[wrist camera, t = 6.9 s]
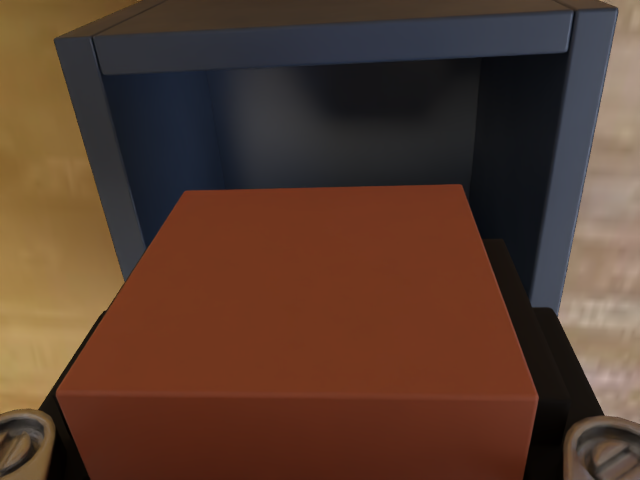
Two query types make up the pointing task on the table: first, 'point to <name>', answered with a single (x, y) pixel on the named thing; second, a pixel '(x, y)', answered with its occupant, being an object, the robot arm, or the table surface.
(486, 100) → the chest
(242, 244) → the block
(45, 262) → the table surface
